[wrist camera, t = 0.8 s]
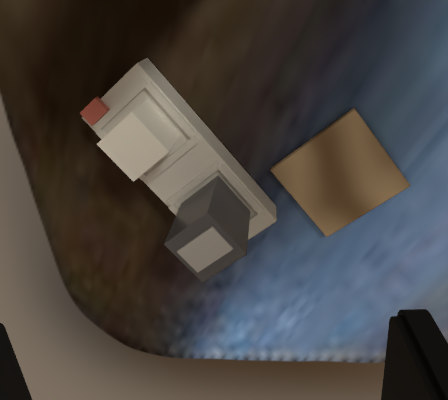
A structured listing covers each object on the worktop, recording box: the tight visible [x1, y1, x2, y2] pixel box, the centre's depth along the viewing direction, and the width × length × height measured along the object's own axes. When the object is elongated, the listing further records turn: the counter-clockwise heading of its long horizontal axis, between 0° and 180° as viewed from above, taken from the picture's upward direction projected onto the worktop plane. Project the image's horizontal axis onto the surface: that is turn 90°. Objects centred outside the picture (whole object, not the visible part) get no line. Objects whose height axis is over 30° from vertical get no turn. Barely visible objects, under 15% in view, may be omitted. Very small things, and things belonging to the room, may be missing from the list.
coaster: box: [270, 108, 410, 237], centre depth 38 cm, size 9×9×1 cm
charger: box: [164, 175, 250, 283], centre depth 34 cm, size 4×4×7 cm
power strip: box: [80, 58, 277, 240], centre depth 36 cm, size 18×7×7 cm, turn 41°
